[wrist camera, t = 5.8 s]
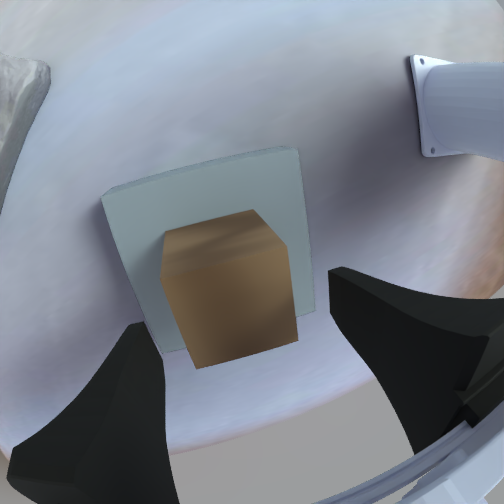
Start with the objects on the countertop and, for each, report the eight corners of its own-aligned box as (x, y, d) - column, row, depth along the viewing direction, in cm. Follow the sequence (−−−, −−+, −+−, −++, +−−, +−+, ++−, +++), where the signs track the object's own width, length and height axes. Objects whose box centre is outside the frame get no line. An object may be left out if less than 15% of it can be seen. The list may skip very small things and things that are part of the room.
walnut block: (253, 208, 15) (286, 246, 10) (266, 284, 17) (298, 340, 12) (165, 231, 14) (159, 279, 10) (189, 305, 16) (196, 369, 12)
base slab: (278, 145, 17) (297, 148, 14) (298, 288, 21) (315, 310, 18) (113, 186, 15) (100, 197, 13) (162, 325, 20) (162, 353, 17)
